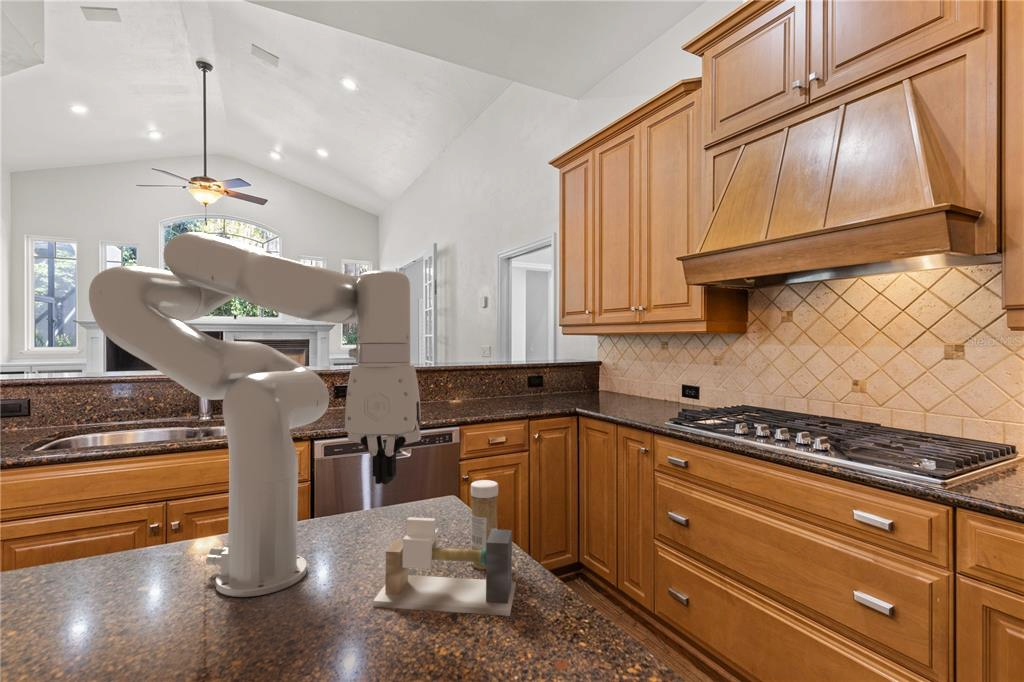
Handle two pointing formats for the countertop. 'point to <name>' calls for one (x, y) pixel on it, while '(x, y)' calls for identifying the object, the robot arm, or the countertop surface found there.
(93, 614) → the countertop surface
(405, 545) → the sleeve
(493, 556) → the linear actuator
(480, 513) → the sprinkles bottle
